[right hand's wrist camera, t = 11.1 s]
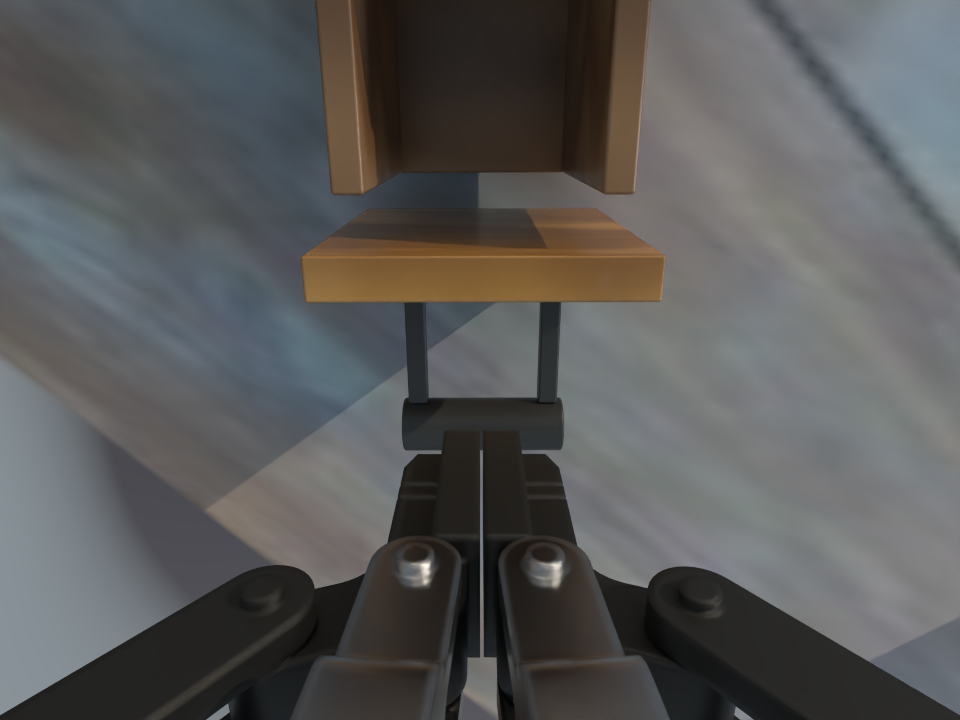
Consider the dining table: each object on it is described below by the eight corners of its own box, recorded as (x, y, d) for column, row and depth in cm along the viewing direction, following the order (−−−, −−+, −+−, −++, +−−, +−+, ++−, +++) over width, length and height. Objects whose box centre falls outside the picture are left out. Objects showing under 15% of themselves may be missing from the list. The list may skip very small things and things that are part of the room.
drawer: (586, 377, 27) (641, 504, 18) (377, 378, 27) (325, 504, 18) (639, -461, 18) (804, -1071, 9) (323, -460, 18) (161, -1069, 9)
